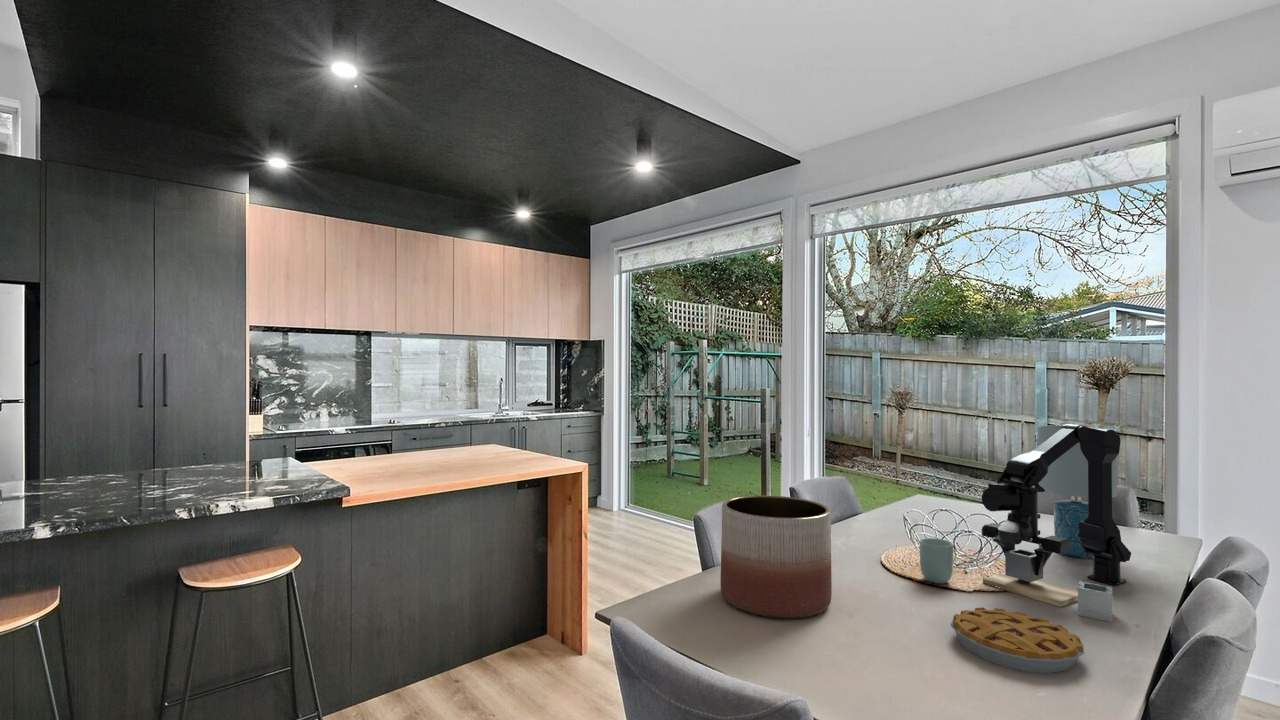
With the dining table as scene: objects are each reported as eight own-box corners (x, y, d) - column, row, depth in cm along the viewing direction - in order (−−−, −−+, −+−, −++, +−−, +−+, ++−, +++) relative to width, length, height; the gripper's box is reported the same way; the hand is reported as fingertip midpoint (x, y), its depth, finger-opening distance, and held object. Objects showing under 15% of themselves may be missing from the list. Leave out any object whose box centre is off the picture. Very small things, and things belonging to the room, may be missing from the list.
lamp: (1096, 548, 188) (1096, 426, 189) (1131, 567, 169) (1131, 432, 170) (1027, 543, 192) (1027, 424, 193) (1054, 561, 174) (1054, 430, 174)
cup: (957, 587, 152) (957, 547, 152) (924, 584, 153) (924, 545, 153) (948, 577, 159) (948, 539, 159) (916, 574, 161) (916, 537, 161)
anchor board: (1008, 575, 161) (1008, 552, 161) (1085, 597, 146) (1085, 571, 146) (982, 583, 155) (982, 558, 155) (1061, 607, 140) (1061, 580, 140)
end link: (1017, 571, 156) (1017, 548, 156) (1043, 578, 151) (1043, 554, 151) (1005, 575, 153) (1005, 551, 153) (1030, 582, 148) (1030, 557, 148)
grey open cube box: (1079, 607, 140) (1079, 580, 140) (1112, 613, 136) (1112, 587, 136) (1078, 615, 135) (1077, 588, 135) (1112, 622, 131) (1111, 594, 131)
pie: (1033, 688, 103) (1033, 659, 104) (927, 636, 124) (927, 612, 124) (1110, 665, 112) (1110, 638, 112) (999, 620, 132) (999, 597, 132)
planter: (837, 591, 148) (838, 501, 148) (822, 631, 125) (823, 524, 125) (737, 575, 159) (737, 491, 159) (706, 609, 136) (706, 511, 136)
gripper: (969, 505, 156) (969, 566, 156) (1048, 521, 140) (1048, 589, 140) (993, 501, 162) (993, 559, 162) (1071, 515, 146) (1072, 580, 146)
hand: (1024, 571), depth 152 cm, fingers closed on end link, 6 cm apart
